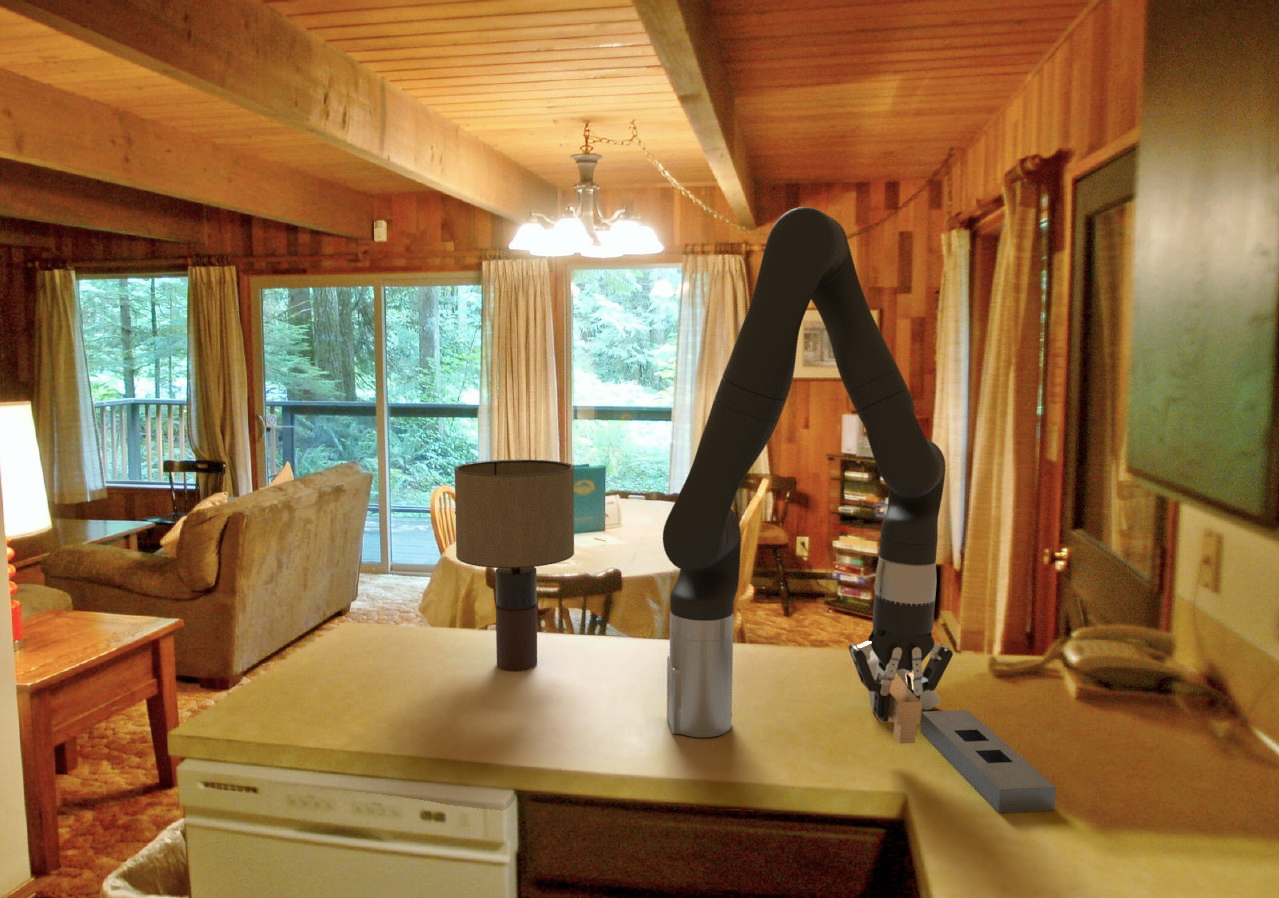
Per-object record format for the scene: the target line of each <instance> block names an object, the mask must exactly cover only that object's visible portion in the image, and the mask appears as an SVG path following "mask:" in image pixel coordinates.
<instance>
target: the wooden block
mask: <svg viewBox="0 0 1279 898" xmlns="http://www.w3.org/2000/svg"><path fill="white" fill-rule="evenodd" d="M874 693H875V692H874ZM888 695H889V696H890V698H889V712H888V715H889V718H888V722H887V723H894V724H893V737H894V738H895V740H896V741H897V742H898V744H915V743H916V732H917V730H916V729H917V725H921V712H922V706H921V703H922V702H921V701H920V700H919V699H918V698H917V697H916V696H915V695H914V694H913V693H912V692H911V691H910V690H909V689H908V688H907V686H906V685H905V683H904V682H903V681H902V680H900V678H898V676H895V678H894V680H892V683H891V687H890V691H889V694H888ZM875 715H876V714H875ZM876 717H877V715H876ZM877 719H878V720H879V721H880V722H881V720H880V719H879V718H878V717H877Z"/></svg>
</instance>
